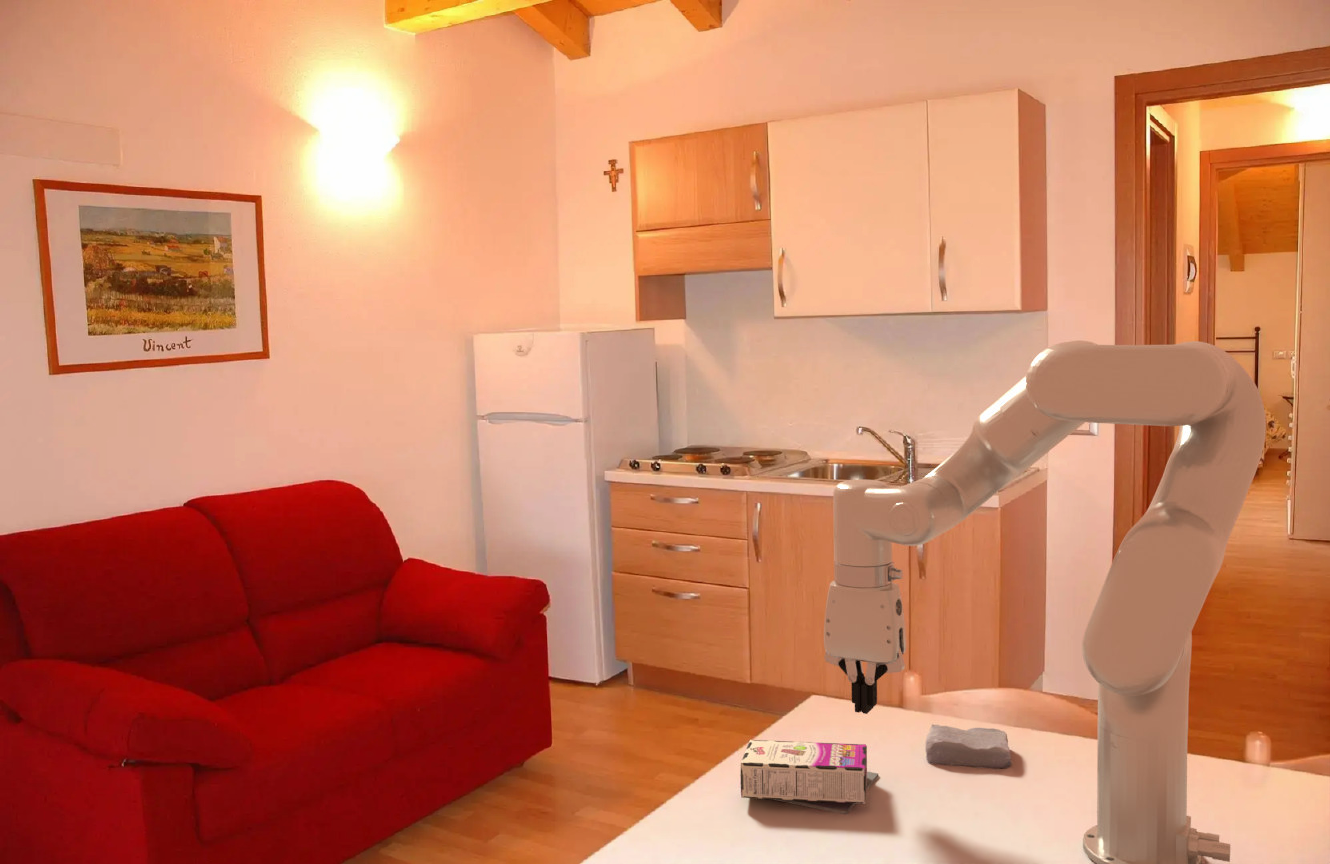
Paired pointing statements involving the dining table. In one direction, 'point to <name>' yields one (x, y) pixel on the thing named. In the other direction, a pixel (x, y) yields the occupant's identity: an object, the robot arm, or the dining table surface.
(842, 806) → the mat
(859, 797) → the candy bar box
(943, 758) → the stone block
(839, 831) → the dining table surface
